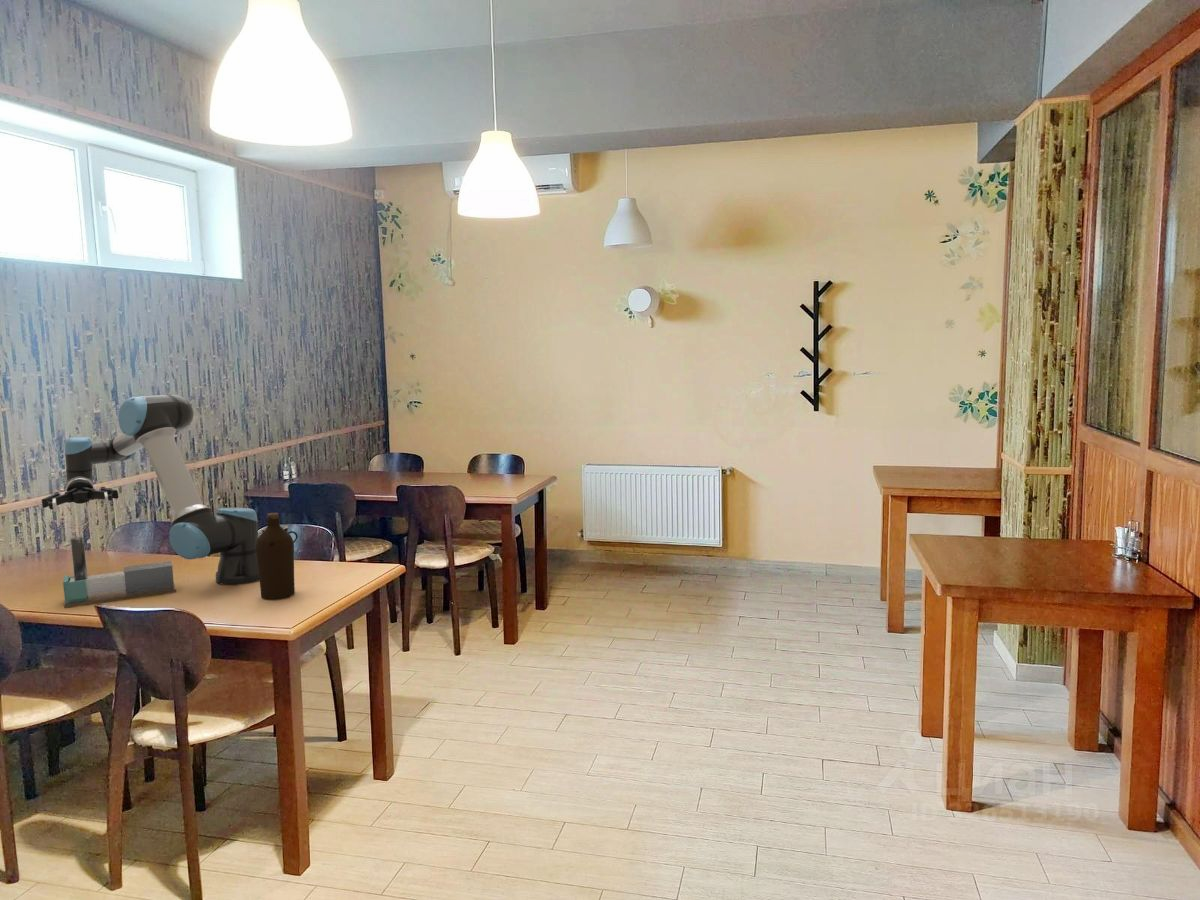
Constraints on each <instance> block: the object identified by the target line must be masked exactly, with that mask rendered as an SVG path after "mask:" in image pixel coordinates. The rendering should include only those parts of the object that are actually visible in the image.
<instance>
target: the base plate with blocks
mask: <svg viewBox="0 0 1200 900" xmlns="http://www.w3.org/2000/svg"><path fill="white" fill-rule="evenodd" d="M123 571H124V574H125V585H126V590H124V591H117V592H110V593H103V594H96V595H89V596H88V598H87V601H80V602H73V603H66V604H65V599H64V603H63V609H68V608H75V607H82V606H89V605H95V604H96V605H97V604H102V603H103V604H104V603H109V602H110V603H111V602H117V601H123V600H130V599H137V598H143V597H144V598H146V597H151V596H158V595H165V594H171V593H176V592H177V588H176V586H175V584H176V583H174V571H173V563H172V561H171V560H168V561H159V562H152V563H151V562H150V563H143V564H136V565H128V566H123Z"/></svg>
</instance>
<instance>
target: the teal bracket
mask: <svg viewBox="0 0 1200 900" xmlns="http://www.w3.org/2000/svg"><path fill="white" fill-rule="evenodd" d="M70 578H74V575H73V576H70V575H69V574H68V575H63V581H62V583H63V584H62V585H63V593H64V595H63V596H64V600H65V604H66V603H73V602H80V601H87V598H88V596H87V590H86V580H80V581H72V582H70Z"/></svg>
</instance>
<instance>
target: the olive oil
mask: <svg viewBox="0 0 1200 900" xmlns="http://www.w3.org/2000/svg"><path fill="white" fill-rule="evenodd" d="M266 516H267V518H266V524H267V526H266V527H267V528H266V529H265V530H264V531H263V533H262V532H261V533H260V535H258V539H257V542H256V555H257V563H258V571H259V579H260V580H259V587H260V596H261V598H262V599H263V600H266V601H267V600H268V601H277V600H283V599H287V598H291V597H292V596H294V595H295V594H296V592H295V542H293V541H294V540H293V536H292V535H291V533H288V532H289V531H287V532H286V531H285V530H284V529H283V528H282V527H281V526H282V525H280V517H279V513H278V512H270V513H266ZM290 596H291V597H290Z"/></svg>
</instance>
